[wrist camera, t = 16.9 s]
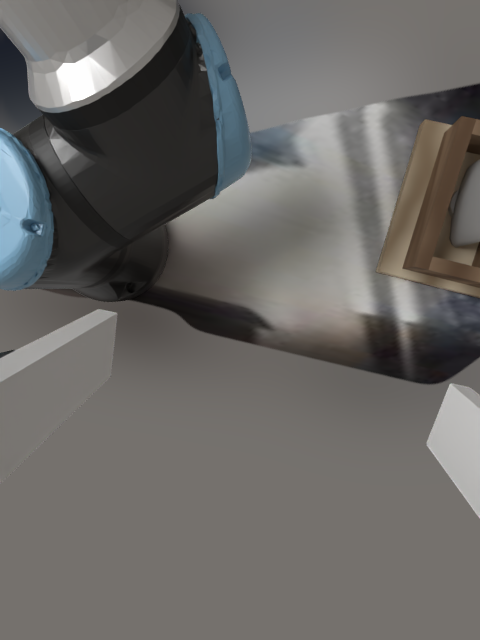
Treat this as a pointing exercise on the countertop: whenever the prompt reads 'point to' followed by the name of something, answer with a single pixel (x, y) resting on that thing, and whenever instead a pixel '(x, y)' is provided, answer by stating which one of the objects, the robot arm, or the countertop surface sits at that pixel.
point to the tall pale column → (466, 209)
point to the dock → (434, 211)
